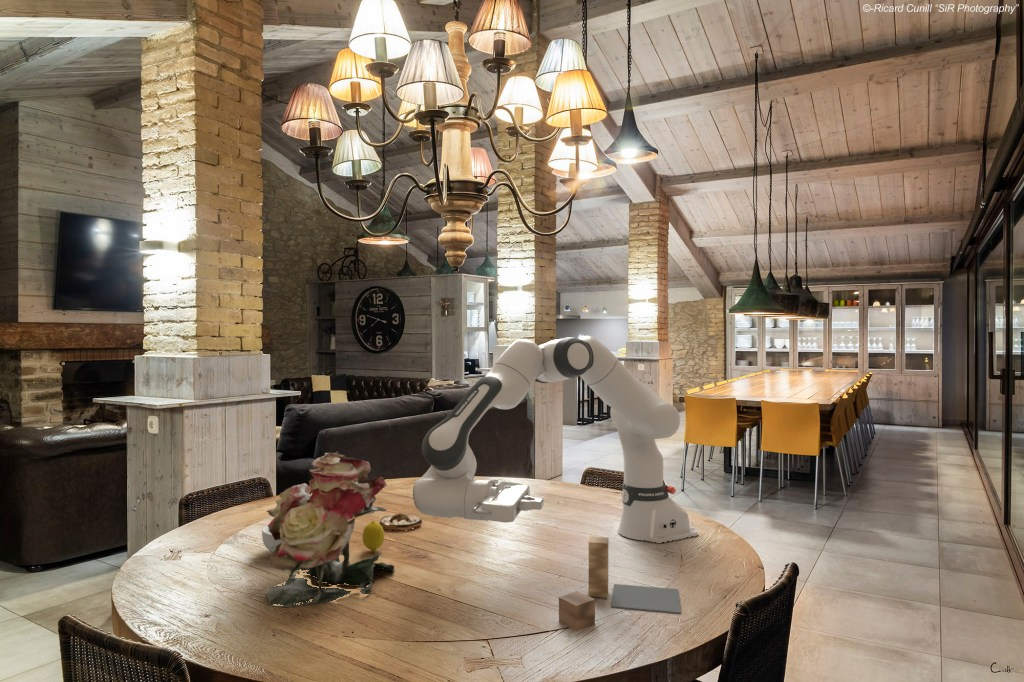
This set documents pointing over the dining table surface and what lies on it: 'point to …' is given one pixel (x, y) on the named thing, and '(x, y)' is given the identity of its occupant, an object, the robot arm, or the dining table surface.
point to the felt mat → (646, 598)
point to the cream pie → (400, 522)
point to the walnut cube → (577, 610)
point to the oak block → (598, 567)
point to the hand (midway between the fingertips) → (542, 504)
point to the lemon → (373, 535)
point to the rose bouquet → (323, 531)
